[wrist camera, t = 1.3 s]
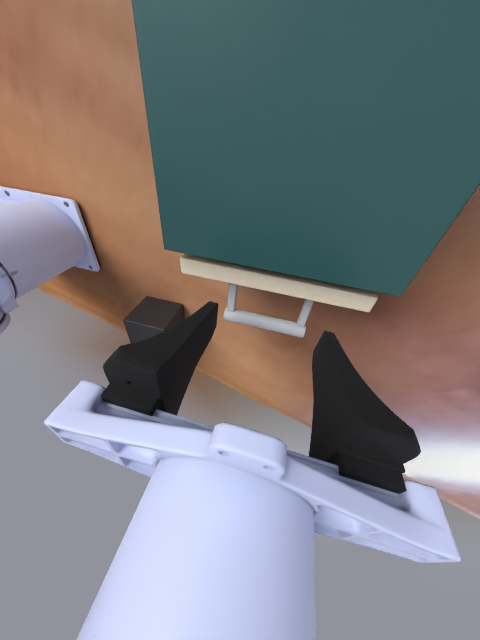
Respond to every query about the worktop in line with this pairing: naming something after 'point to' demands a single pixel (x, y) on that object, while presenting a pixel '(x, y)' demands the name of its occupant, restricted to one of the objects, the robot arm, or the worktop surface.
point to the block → (152, 318)
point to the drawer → (277, 284)
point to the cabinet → (312, 131)
